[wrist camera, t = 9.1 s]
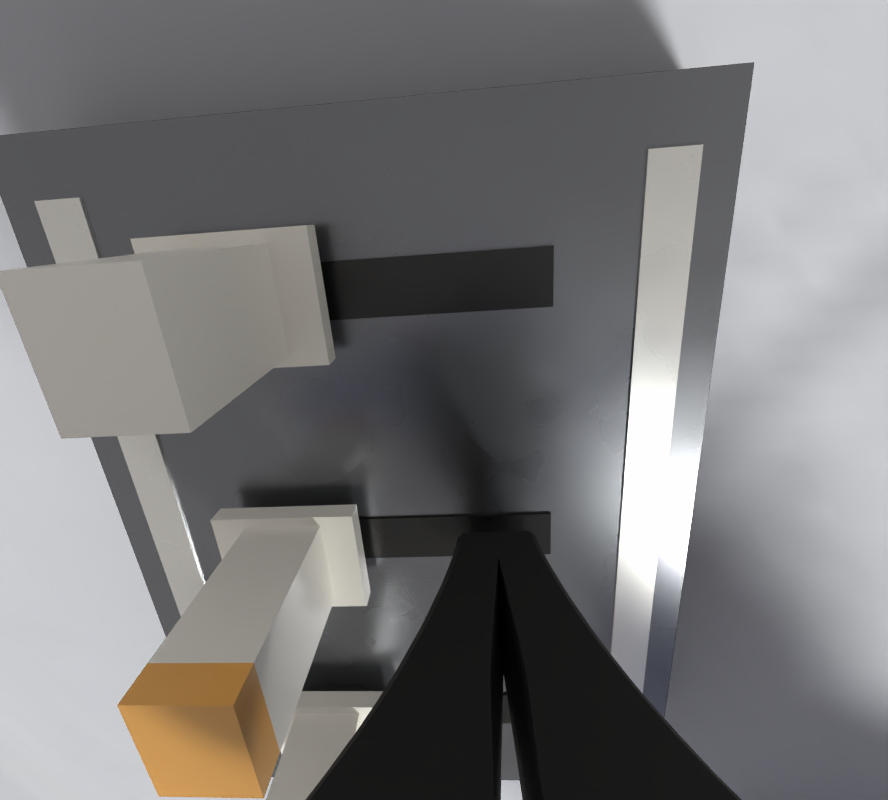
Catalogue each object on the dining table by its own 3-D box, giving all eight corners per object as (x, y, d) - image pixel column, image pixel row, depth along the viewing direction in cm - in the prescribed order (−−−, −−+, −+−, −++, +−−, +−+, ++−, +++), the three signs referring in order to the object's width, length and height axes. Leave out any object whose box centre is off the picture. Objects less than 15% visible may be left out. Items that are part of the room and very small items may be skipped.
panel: (693, 94, 9) (756, 61, 7) (631, 708, 14) (655, 784, 13) (74, 151, 10) (-25, 137, 8) (249, 707, 15) (217, 778, 13)
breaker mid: (356, 504, 9) (281, 694, 6) (370, 591, 10) (312, 808, 7) (220, 508, 10) (62, 694, 6) (244, 593, 10) (119, 804, 7)
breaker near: (314, 224, 8) (201, 232, 4) (335, 358, 8) (252, 446, 5) (146, 237, 8) (-78, 253, 5) (183, 366, 9) (14, 456, 5)
